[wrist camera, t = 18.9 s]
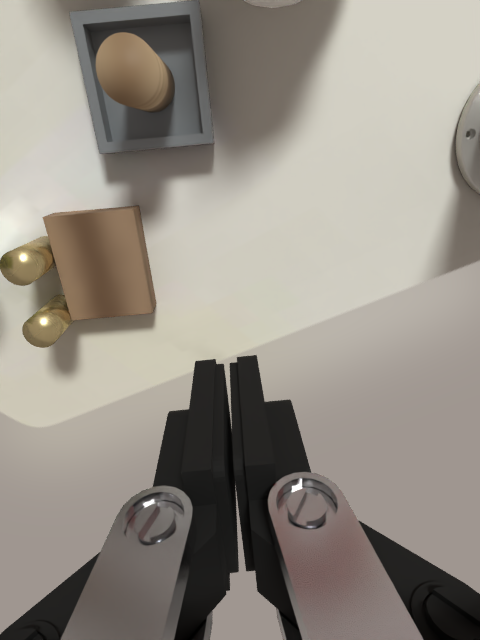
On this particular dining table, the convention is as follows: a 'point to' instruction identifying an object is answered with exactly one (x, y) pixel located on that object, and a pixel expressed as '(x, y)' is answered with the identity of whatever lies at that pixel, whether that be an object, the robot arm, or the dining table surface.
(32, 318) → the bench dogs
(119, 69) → the dowel
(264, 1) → the honey pot
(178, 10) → the tray
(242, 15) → the dining table surface
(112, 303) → the brown wooden brick
